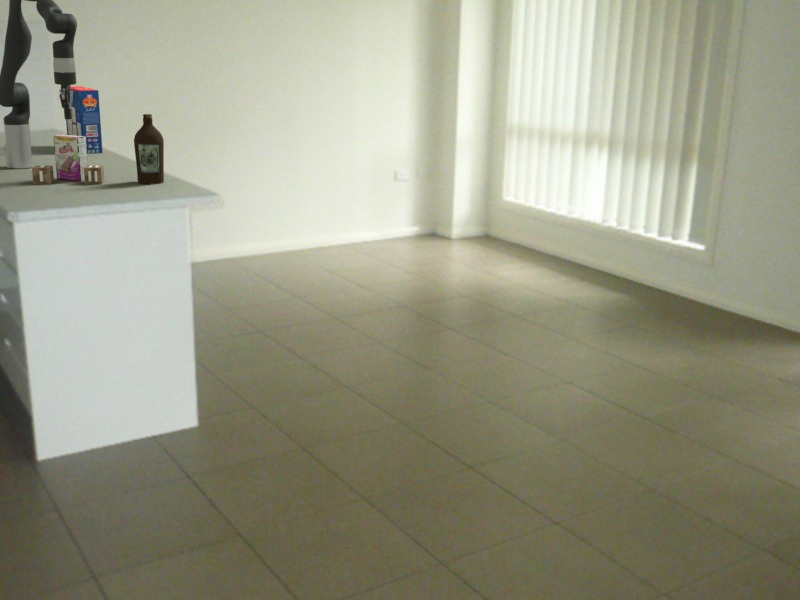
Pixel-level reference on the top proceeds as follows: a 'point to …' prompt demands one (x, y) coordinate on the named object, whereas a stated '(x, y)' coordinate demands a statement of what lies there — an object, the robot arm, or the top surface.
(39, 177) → the walnut block one
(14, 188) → the top surface
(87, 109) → the pasta box
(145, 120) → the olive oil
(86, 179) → the walnut block two
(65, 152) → the candy bar box
